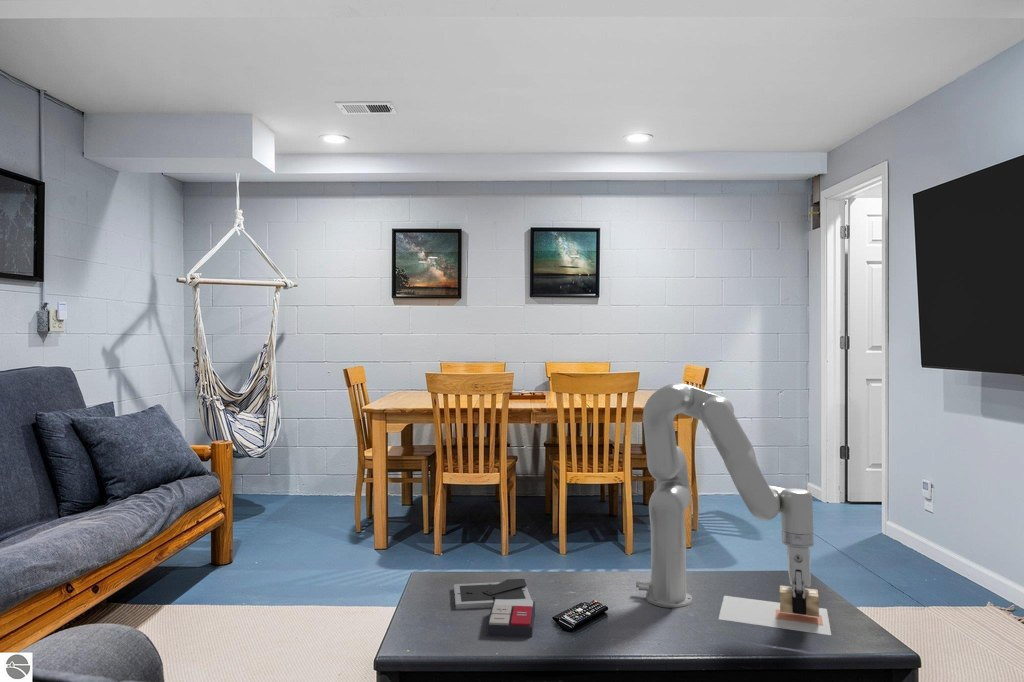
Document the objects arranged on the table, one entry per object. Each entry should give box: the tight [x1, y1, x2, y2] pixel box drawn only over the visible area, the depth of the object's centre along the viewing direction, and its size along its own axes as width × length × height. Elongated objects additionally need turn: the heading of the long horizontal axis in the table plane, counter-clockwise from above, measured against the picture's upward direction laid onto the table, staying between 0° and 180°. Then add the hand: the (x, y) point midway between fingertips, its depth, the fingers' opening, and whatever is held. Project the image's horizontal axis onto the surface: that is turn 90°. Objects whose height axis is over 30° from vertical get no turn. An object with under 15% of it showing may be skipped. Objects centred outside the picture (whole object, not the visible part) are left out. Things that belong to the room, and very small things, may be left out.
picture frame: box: [453, 578, 533, 610], centre depth 184 cm, size 16×3×21 cm
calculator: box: [486, 599, 536, 638], centre depth 165 cm, size 11×4×15 cm
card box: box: [779, 585, 820, 617], centre depth 168 cm, size 9×6×5 cm, turn 67°
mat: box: [718, 595, 832, 636], centre depth 170 cm, size 26×18×1 cm
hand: (799, 608), depth 168 cm, fingers closed on card box, 5 cm apart
